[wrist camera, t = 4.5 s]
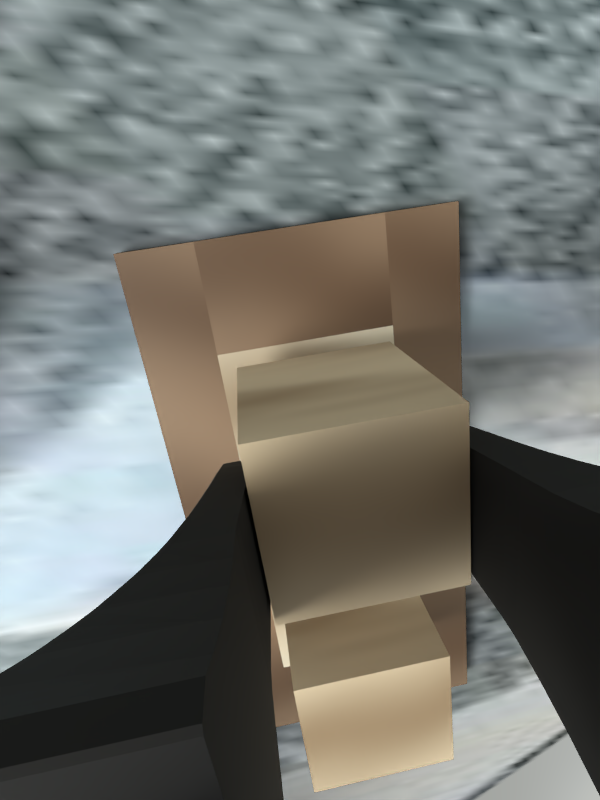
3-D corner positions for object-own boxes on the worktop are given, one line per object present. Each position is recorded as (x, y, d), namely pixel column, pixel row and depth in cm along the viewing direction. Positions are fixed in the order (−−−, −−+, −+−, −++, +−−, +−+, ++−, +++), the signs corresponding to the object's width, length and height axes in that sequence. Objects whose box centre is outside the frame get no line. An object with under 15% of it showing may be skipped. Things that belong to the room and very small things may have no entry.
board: (460, 670, 20) (467, 683, 19) (244, 719, 19) (244, 734, 18) (449, 202, 13) (458, 201, 12) (118, 252, 12) (113, 253, 12)
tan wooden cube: (399, 474, 14) (471, 584, 10) (263, 500, 13) (276, 625, 9) (389, 341, 12) (469, 402, 8) (236, 367, 12) (237, 445, 8)
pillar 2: (401, 631, 18) (453, 759, 13) (295, 654, 17) (314, 792, 13) (393, 543, 16) (450, 656, 12) (277, 567, 16) (293, 691, 12)
